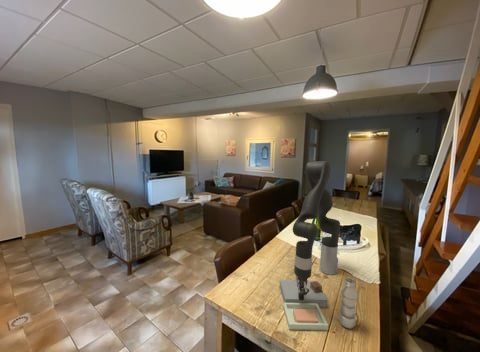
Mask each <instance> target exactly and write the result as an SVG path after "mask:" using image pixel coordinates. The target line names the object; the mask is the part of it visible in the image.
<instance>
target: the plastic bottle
mask: <svg viewBox="0 0 480 352" xmlns="http://www.w3.org/2000/svg"><path fill="white" fill-rule="evenodd" d="M340 297H341V300H340V302H341V303H340V309H339V311H338V321H339V323H340V324H341V326H343V327H344V328H345V329H353V328H355V325H356V320H357V319H356V305H357V301H358V297H359V295H358V291H357V289H356V281H355V280H354V279H352V278H350V277H349V278H348V277H346V278H345V281H344V285H343V286H341V288H340Z"/></svg>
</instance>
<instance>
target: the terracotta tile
mask: <svg viewBox="0 0 480 352" xmlns="http://www.w3.org/2000/svg"><path fill="white" fill-rule="evenodd" d="M293 317H294V320H295V322H298V323H318V319H317V316H316V314H315V312H314V310H313V309H293Z"/></svg>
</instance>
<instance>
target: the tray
mask: <svg viewBox="0 0 480 352" xmlns="http://www.w3.org/2000/svg"><path fill="white" fill-rule="evenodd" d="M282 308H283V312H284V316H285V320H286V323H287V327H288V330H289V331H319V332H320V331H321V332H322V331H326V332H328V331H329V324H328V322H327V319H326V318H325V315H324V314H323V312H322V310H321V307H319V306H318V304H317V303H284V301H283V305H282ZM293 309H313V310H314V312H315V314H316V316H317V319H318V323H298V322H295V320H294V317H293Z"/></svg>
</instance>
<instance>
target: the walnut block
mask: <svg viewBox="0 0 480 352" xmlns="http://www.w3.org/2000/svg"><path fill="white" fill-rule="evenodd" d="M314 281H315V282H310V288H311V289H312V290H313V291H314V293H317V292H322V291H323V285H322V284H321V283H320V282H319V281H318V280H314Z"/></svg>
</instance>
